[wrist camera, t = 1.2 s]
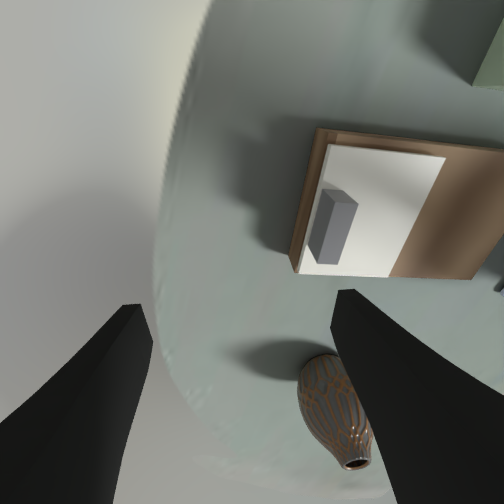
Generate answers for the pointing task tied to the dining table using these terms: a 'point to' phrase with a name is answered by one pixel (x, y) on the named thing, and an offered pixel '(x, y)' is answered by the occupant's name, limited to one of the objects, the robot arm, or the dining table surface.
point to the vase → (335, 411)
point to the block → (493, 64)
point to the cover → (365, 210)
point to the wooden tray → (428, 205)
